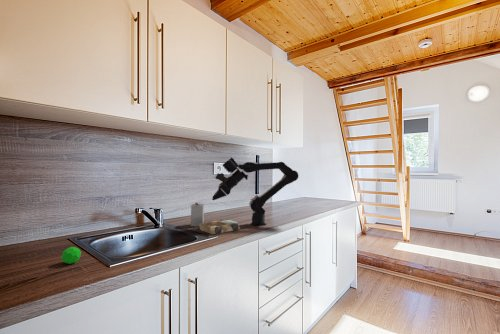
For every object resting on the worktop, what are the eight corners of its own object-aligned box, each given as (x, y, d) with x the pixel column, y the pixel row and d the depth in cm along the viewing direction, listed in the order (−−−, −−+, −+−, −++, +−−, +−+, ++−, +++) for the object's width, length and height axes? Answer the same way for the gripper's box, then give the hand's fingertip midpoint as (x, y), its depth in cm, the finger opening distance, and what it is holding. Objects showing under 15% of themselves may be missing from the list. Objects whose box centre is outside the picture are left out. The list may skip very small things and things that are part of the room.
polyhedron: (80, 263, 78) (81, 248, 78) (61, 267, 75) (61, 251, 75) (80, 259, 82) (80, 244, 82) (61, 262, 79) (62, 247, 79)
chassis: (226, 225, 134) (226, 219, 134) (240, 229, 124) (240, 223, 124) (198, 229, 123) (198, 223, 123) (212, 234, 113) (212, 227, 113)
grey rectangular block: (203, 223, 137) (203, 202, 137) (202, 226, 131) (202, 203, 131) (192, 224, 136) (192, 202, 136) (190, 226, 130) (191, 203, 130)
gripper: (224, 168, 144) (203, 186, 142) (225, 168, 125) (201, 188, 123) (237, 182, 144) (216, 200, 143) (239, 184, 126) (216, 205, 124)
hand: (212, 198), depth 133 cm, fingers open, 9 cm apart
